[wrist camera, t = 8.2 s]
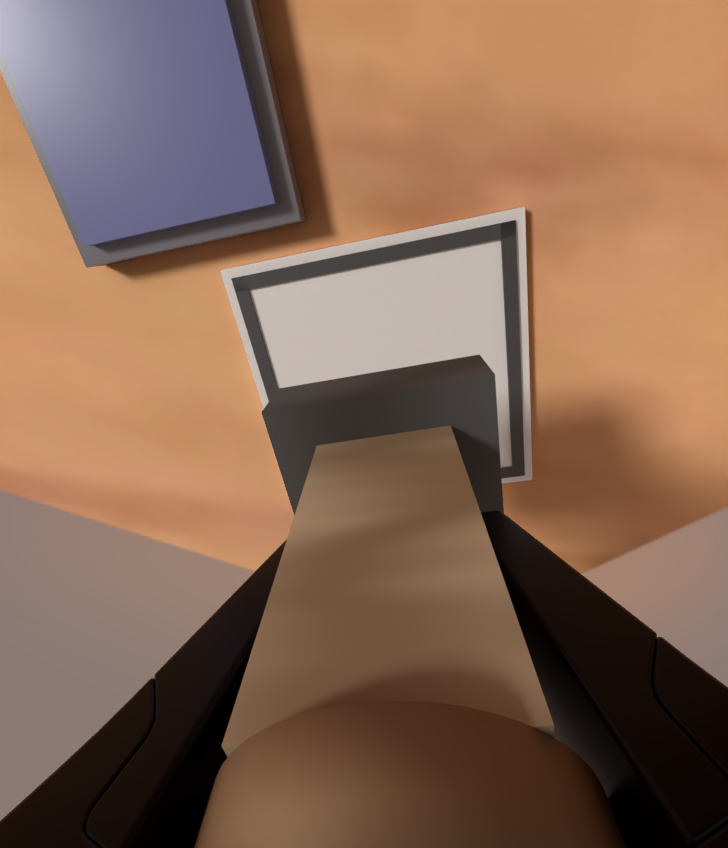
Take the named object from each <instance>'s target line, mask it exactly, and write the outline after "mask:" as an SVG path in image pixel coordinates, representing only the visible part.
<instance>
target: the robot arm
mask: <svg viewBox="0 0 728 848" xmlns="http://www.w3.org/2000/svg"><path fill="white" fill-rule="evenodd" d="M481 515H482V518H483V521H484V523H485V526H486V529H487V532H488V535H489V538H490V541H491V544H492V547H493V550H494V552H495V555H496V558H497V561H498V564H499V567H500V570H501V573H502V576H503V579H504V581H505V584H506V587H507V590H508V593H509V596H510V599H511V602H512V605H513V607H514V610H515V613H516V616H517V619H518V622H519V625H520V628H521V631H522V634H523V636H524V639H525V642H526V645H527V648H528V651H529V654H530V657H531V660H532V663H533V665H534V668H535V671H536V674H537V677H538V680H539V683H540V686H541V689H542V691H543V694H544V697H545V700H546V703H547V706H548V709H549V712H550V715H551V718H552V720H553V723H554V738H555V739H557V740H559V741H560V742H562V743H564V744H565V745H566V746H568V747H569V748H570V749H572V750H573V751H574V752H575V753H577V754H578V755H579V756H580V757H582V759H583V760H584V761H585V762H586V763H587V764H588V765H589V766H590V767H591V768H592V770H593V771H594V772H595V774H596V776H597V777H598V779H599V781H600V782H601V784H602V786H603V788H604V791H605V794H606V796H607V799H608V801H609V804H610V806H611V809H612V811H613V814H614V816H615V819H616V821H617V824H618V826H619V829H620V832H621V834H622V837H623V839H624V842H625V844H626V847H627V848H728V687H726V686H725V685H724V684H722V683H721V682H720V681H718V680H717V679H716V678H714V677H713V676H712V675H710V674H709V673H708V672H706V671H705V670H704V669H702V668H701V667H700V666H698V665H697V664H696V663H694V662H693V661H691V660H690V659H689V658H688V657H686V656H685V655H684V654H683V653H681V652H680V651H679V650H677V649H676V648H675V647H674V646H672V645H671V644H670V643H669V642H667V641H666V640H665V639H663V638H662V637H658V638H657V634H656V633H655V632H654V631H653V630H652V629H650V628H649V627H648V626H647V625H645V624H644V623H643V622H641V621H640V620H639V619H638V618H636V617H635V616H634V615H632V614H631V613H630V612H629V611H627V610H626V609H625V608H624V607H622V606H621V605H620V604H618V603H617V602H616V601H614V600H613V599H612V598H611V597H609V596H608V595H607V594H606V593H604V592H603V591H602V590H601V589H599V588H598V587H597V586H595V585H594V584H593V583H592V582H590V581H589V580H588V579H587V578H585V577H584V576H583V575H581V574H580V573H579V572H578V571H576V570H575V569H574V568H572V567H571V566H570V565H569V564H567V563H566V562H565V561H564V560H562V559H561V558H560V557H558V556H557V555H556V554H555V553H553V552H552V551H551V550H550V549H548V548H547V547H546V546H544V545H543V544H542V543H541V542H539V541H538V540H537V539H535V538H534V537H533V536H532V535H530V534H529V533H528V532H527V531H525V530H524V529H523V528H521V527H520V526H519V525H518V524H516V523H515V522H514V521H512V520H511V519H510V518H509V517H507V516H506V515H505V514H504V513H502V512H501V511H498V510H495V511H487V512H481ZM286 541H287V540H286ZM286 541H285V542H284V543H283V544H282V545H281V546H280V547H279V548H278V549H277V550H276V551H275V552H274V553H273V554H272V555H271V556H270V557H269V558H268V559H267V560H266V561H265V562H264V563H263V564H262V565H261V566H260V567H259V568H258V569H257V570H256V571H255V572H254V573H253V574H252V575H251V576H250V578H248V580H247V581H246V582H245V583H244V584H243V585H242V586H241V587H240V588H239V589H238V590H237V591H236V592H235V593H234V594H233V595H232V596H231V597H230V598H229V599H228V600H227V601H226V602H225V603H224V604H223V605H222V606H221V607H220V608H219V609H218V610H217V611H216V613H214V614H213V615H212V616H211V617H210V618H209V620H207V622H206V623H205V624H204V625H203V626H202V627H201V628H200V629H199V630H198V631H197V632H196V633H195V634H194V635H193V636H192V637H191V638H190V639H189V640H188V641H187V642H186V643H185V644H184V645H183V646H182V647H181V648H180V649H179V650H178V651H177V652H176V653H175V654H174V655H173V657H171V659H169V660H168V661H167V663H166V664H165V665H164V666H163V667H162V668H161V669H160V670H159V671H158V672H157V673H156V674H155V679H154V678H151V679H150V680H149V681H148V682H147V683H146V684H145V685H144V686H143V687H142V688H141V689H140V690H139V691H138V692H137V693H136V694H135V695H134V696H133V697H132V698H131V699H130V700H129V701H128V702H127V703H126V704H125V705H124V706H123V707H122V708H121V709H120V710H119V711H118V712H117V713H116V714H115V715H114V716H113V717H112V718H111V719H110V720H109V721H108V722H107V723H106V724H105V725H104V726H103V727H102V728H101V729H100V730H99V731H98V732H97V733H96V734H95V735H94V736H92V737H91V738H90V739H89V740H88V741H87V742H86V743H85V744H84V745H83V746H82V747H81V748H80V749H79V750H78V751H76V752H75V753H74V754H73V755H72V756H71V757H70V758H69V759H68V760H67V761H66V762H65V763H64V764H62V765H61V766H60V767H59V768H58V769H57V770H56V771H55V772H54V773H53V774H52V775H50V776H49V778H47V779H46V780H45V781H44V782H43V783H42V784H41V785H39V786H38V787H37V788H36V789H35V790H34V791H33V792H32V793H31V794H30V795H28V796H27V797H26V798H25V799H24V800H23V801H22V802H21V803H20V804H19V805H17V806H16V807H15V808H14V809H13V810H12V811H11V812H10V813H9V814H7V816H5V817H4V818H3V819H2V820H1V821H0V848H194V846H195V843H196V840H197V837H198V833H199V830H200V827H201V824H202V820H203V817H204V814H205V811H206V807H207V804H208V801H209V798H210V794H211V791H212V788H213V785H214V782H215V778H216V776H217V774H218V772H219V770H220V768H221V766H222V764H223V763H224V761H225V760H226V759H227V758H228V757H227V755H226V753H225V752H224V750H223V748H222V743H223V740H224V737H225V733H226V730H227V727H228V724H229V721H230V718H231V714H232V711H233V708H234V705H235V702H236V699H237V696H238V692H239V689H240V686H241V683H242V680H243V677H244V673H245V670H246V667H247V664H248V661H249V658H250V655H251V651H252V648H253V645H254V642H255V639H256V636H257V632H258V629H259V626H260V623H261V620H262V617H263V614H264V610H265V607H266V604H267V601H268V598H269V595H270V591H271V588H272V585H273V582H274V579H275V576H276V572H277V569H278V566H279V563H280V560H281V557H282V554H283V550H284V547H285V544H286ZM656 638H657V639H656Z"/></svg>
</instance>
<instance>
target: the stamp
mask: <svg viewBox="0 0 728 848" xmlns="http://www.w3.org/2000/svg"><path fill="white" fill-rule="evenodd" d="M262 415H263V418H264V421H265V424H266V427H267V431H268V434H269V437H270V440H271V443H272V446H273V449H274V453H275V456H276V459H277V462H278V465H279V468H280V471H281V474H282V478H283V481H284V484H285V487H286V490H287V493H288V496H289V500H290V503H291V506H292V509H293V512H294V515H295V516H294V519H293V522H292V525H291V528H290V531H289V535H288V538H287V541H286V544H285V547H284V550H283V554H282V557H281V560H280V563H279V566H278V569H277V572H276V576H275V579H274V582H273V585H272V588H271V591H270V595H269V598H268V601H267V604H266V607H265V610H264V614H263V617H262V620H261V623H260V626H259V629H258V632H257V636H256V639H255V642H254V645H253V648H252V651H251V655H250V658H249V661H248V664H247V667H246V670H245V673H244V677H243V680H242V683H241V686H240V689H239V692H238V696H237V699H236V702H235V705H234V708H233V711H232V714H231V718H230V721H229V724H228V727H227V730H226V733H225V737H224V740H223V743H222V748H223V750H224V752H225V753H226V755H227V757H228V758H227V759H226V760H225V761H224V763H223V764H222V766H221V768H220V770H219V772H218V774H217V776H216V778H215V782H214V785H213V788H212V791H211V794H210V798H209V801H208V804H207V807H206V811H205V814H204V817H203V820H202V824H201V827H200V830H199V833H198V837H197V840H196V843H195V846H194V848H627V847H626V844H625V842H624V839H623V837H622V834H621V832H620V829H619V826H618V824H617V821H616V819H615V816H614V814H613V811H612V809H611V806H610V804H609V801H608V799H607V796H606V794H605V791H604V788H603V786H602V784H601V782H600V781H599V779H598V777H597V776H596V774H595V772H594V771H593V770H592V768H591V767H590V766H589V765H588V764H587V763H586V762H585V761H584V760H583V759H582V757H580V756H579V755H578V754H577V753H575V752H574V751H573V750H572V749H570V748H569V747H568V746H566V745H565V744H564V743H562V742H560V741H559V740H557V739H555V738H554V723H553V720H552V718H551V715H550V712H549V709H548V706H547V703H546V700H545V697H544V694H543V691H542V689H541V686H540V683H539V680H538V677H537V674H536V671H535V668H534V665H533V663H532V660H531V657H530V654H529V651H528V648H527V645H526V642H525V639H524V636H523V634H522V631H521V628H520V625H519V622H518V619H517V616H516V613H515V610H514V607H513V605H512V602H511V599H510V596H509V593H508V590H507V587H506V584H505V581H504V579H503V576H502V573H501V570H500V567H499V564H498V561H497V558H496V555H495V552H494V550H493V547H492V544H491V541H490V538H489V535H488V532H487V529H486V526H485V523H484V521H483V518H482V515H481V512H487V511H495V510H498V511H501V512H502V513H504V512H503V496H502V480H501V463H500V447H499V431H498V415H497V399H496V383H495V374H494V372H493V371H492V370H491V369H490V367H489V366H488V365H487V363H486V362H485V361H484V360H483V358H482V357H481V356H480V354H479V355H473V356H468V357H462V358H456V359H450V360H444V361H438V362H432V363H426V364H420V365H415V366H409V367H403V368H397V369H391V370H385V371H379V372H373V373H367V374H362V375H356V376H350V377H344V378H338V379H332V380H326V381H320V382H314V383H309V384H303V385H297V386H291V387H285V388H279V389H277V391H276V392H275V394H274V395H273V396H272V398H271V399H270V401H269V402H268V404H267V405H266V407H265V408H264V410H263V411H262Z"/></svg>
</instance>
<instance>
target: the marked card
mask: <svg viewBox="0 0 728 848" xmlns="http://www.w3.org/2000/svg"><path fill="white" fill-rule="evenodd" d="M220 271H221V274H222V278H223V281H224V284H225V287H226V290H227V293H228V297H229V300H230V303H231V306H232V309H233V313H234V316H235V319H236V322H237V325H238V329H239V332H240V335H241V338H242V341H243V344H244V348H245V351H246V354H247V357H248V360H249V364H250V367H251V370H252V373H253V376H254V380H255V383H256V386H257V389H258V392H259V395H260V399H261V402H262V405H263V408H265V407H266V405H267V404H268V402H269V401H270V399H271V398H272V396H273V395H274V394H275V392H276V391H277V389H279V388H285V387H291V386H297V385H303V384H309V383H314V382H320V381H326V380H332V379H338V378H344V377H350V376H356V375H362V374H367V373H373V372H379V371H385V370H391V369H397V368H403V367H409V366H415V365H420V364H426V363H432V362H438V361H444V360H450V359H456V358H462V357H468V356H473V355H479V354H480V356H481V357H482V358H483V360H484V361H485V362H486V363H487V365H488V366H489V367H490V369H491V370H492V371H493V372H494V374H495V383H496V399H497V415H498V431H499V447H500V463H501V480H502V484H504V483H512V482H520V481H527V480H532V444H531V407H530V370H529V333H528V296H527V259H526V222H525V207H521V208H516V209H511V210H506V211H501V212H497V213H492V214H487V215H482V216H477V217H473V218H468V219H463V220H458V221H454V222H449V223H444V224H439V225H434V226H430V227H425V228H420V229H415V230H410V231H406V232H401V233H396V234H391V235H387V236H382V237H377V238H372V239H367V240H363V241H358V242H353V243H348V244H343V245H339V246H334V247H329V248H324V249H320V250H315V251H310V252H305V253H300V254H296V255H291V256H286V257H281V258H276V259H272V260H267V261H262V262H257V263H253V264H248V265H243V266H238V267H233V268H229V269H224V270H220Z"/></svg>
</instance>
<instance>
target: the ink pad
mask: <svg viewBox="0 0 728 848" xmlns="http://www.w3.org/2000/svg"><path fill="white" fill-rule="evenodd" d="M0 71H1V73H2V75H3V78H4V80H5V82H6V85H7V87H8V89H9V91H10V94H11V96H12V98H13V101H14V103H15V105H16V107H17V110H18V112H19V114H20V117H21V119H22V121H23V123H24V126H25V128H26V130H27V133H28V135H29V137H30V139H31V142H32V144H33V146H34V149H35V151H36V153H37V155H38V158H39V160H40V162H41V165H42V167H43V169H44V171H45V174H46V176H47V178H48V181H49V183H50V185H51V187H52V190H53V192H54V194H55V197H56V199H57V201H58V203H59V206H60V208H61V210H62V213H63V215H64V217H65V219H66V222H67V224H68V226H69V229H70V231H71V233H72V235H73V238H74V240H75V242H76V245H77V247H78V249H79V251H80V254H81V256H82V258H83V261H84V263H85V265H86V267H93V266H102V265H108V264H112V263H117V262H121V261H126V260H131V259H135V258H140V257H144V256H149V255H153V254H158V253H163V252H167V251H172V250H176V249H181V248H185V247H190V246H195V245H199V244H204V243H208V242H213V241H218V240H222V239H227V238H231V237H236V236H240V235H245V234H250V233H254V232H259V231H263V230H268V229H272V228H277V227H282V226H286V225H291V224H295V223H300V222H304V221H306V219H305V215H304V210H303V206H302V201H301V197H300V192H299V188H298V183H297V179H296V174H295V170H294V165H293V161H292V156H291V152H290V148H289V143H288V139H287V134H286V130H285V125H284V121H283V116H282V112H281V107H280V103H279V98H278V94H277V89H276V85H275V80H274V76H273V71H272V67H271V62H270V58H269V53H268V49H267V45H266V40H265V36H264V31H263V27H262V22H261V18H260V13H259V9H258V4H257V0H0Z"/></svg>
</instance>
